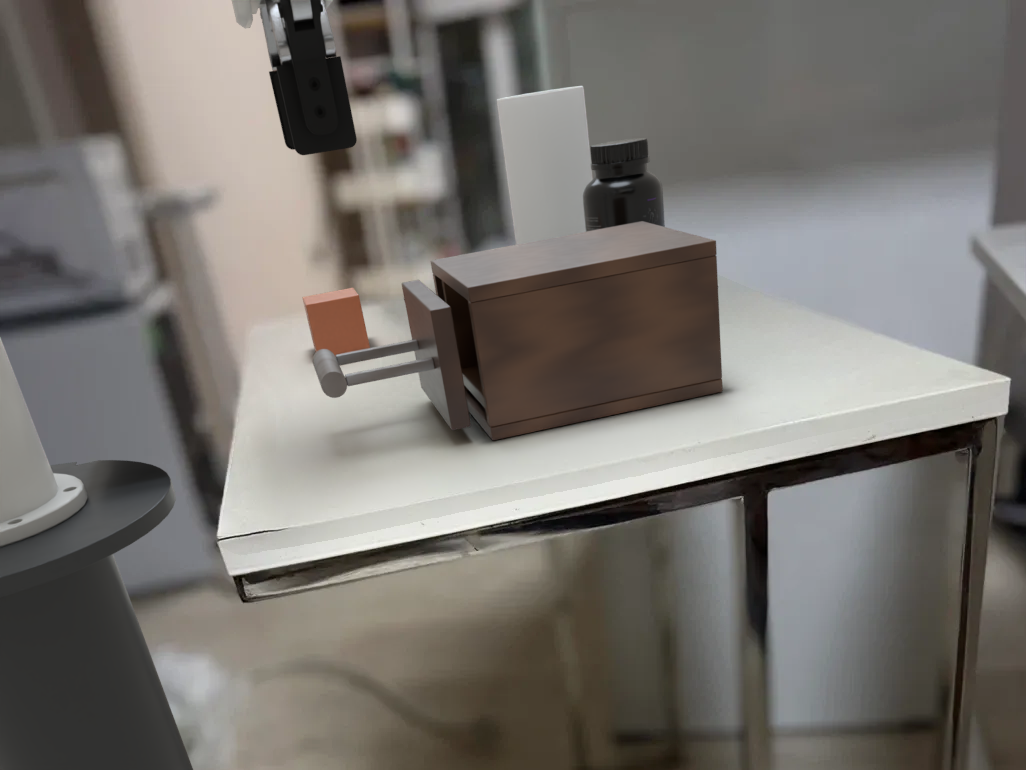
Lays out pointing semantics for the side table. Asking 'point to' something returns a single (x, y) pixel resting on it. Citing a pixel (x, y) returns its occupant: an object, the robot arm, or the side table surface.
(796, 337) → the side table surface
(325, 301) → the block
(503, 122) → the tall white panel
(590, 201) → the supplement bottle
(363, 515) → the side table surface
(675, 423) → the side table surface
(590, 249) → the cabinet
